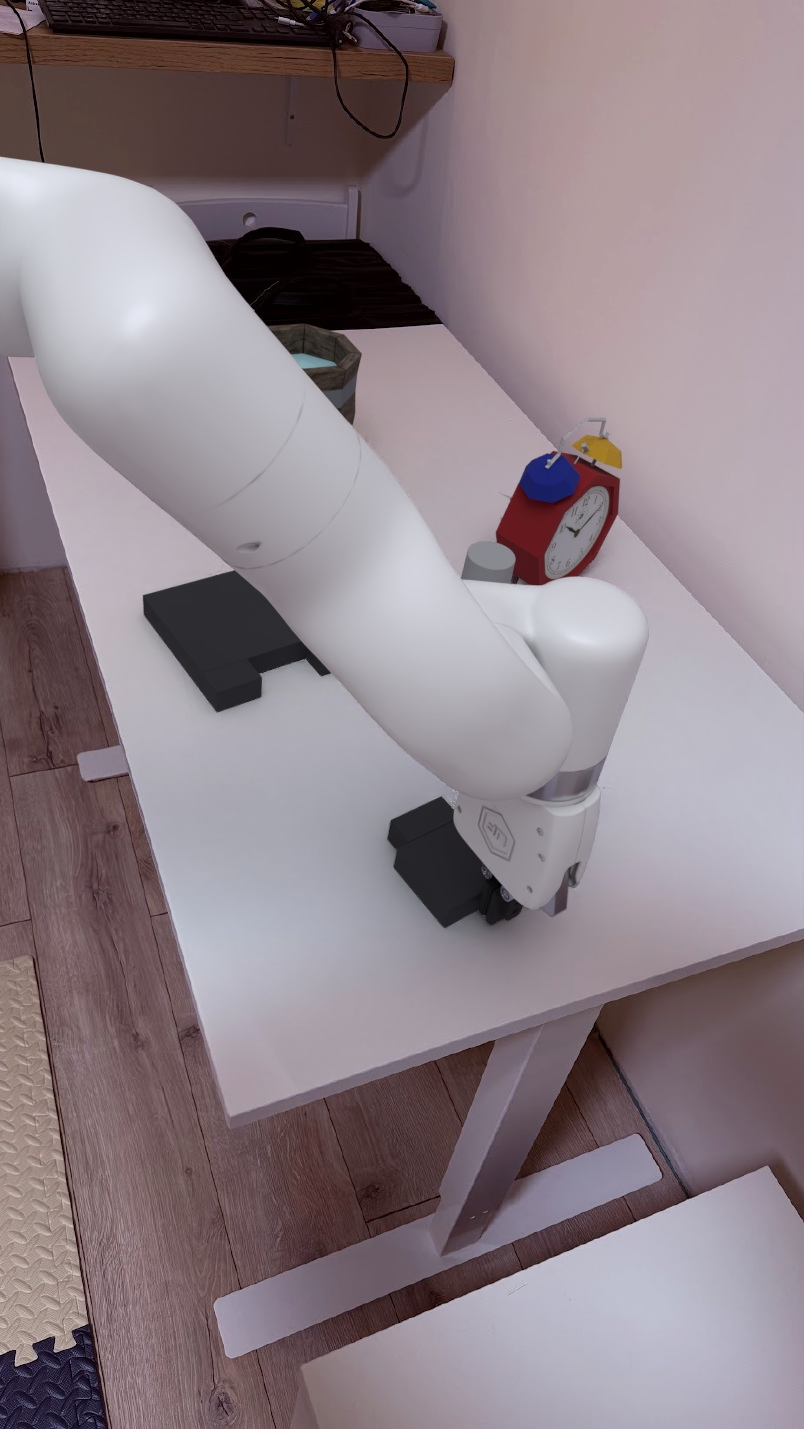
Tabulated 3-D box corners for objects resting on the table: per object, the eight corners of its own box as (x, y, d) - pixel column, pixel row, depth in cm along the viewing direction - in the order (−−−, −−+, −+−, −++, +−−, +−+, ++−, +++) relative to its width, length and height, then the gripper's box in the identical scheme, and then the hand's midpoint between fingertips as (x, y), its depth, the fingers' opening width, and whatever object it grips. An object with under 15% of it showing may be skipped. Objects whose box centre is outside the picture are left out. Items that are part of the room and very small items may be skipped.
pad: (444, 929, 80) (449, 910, 78) (374, 845, 85) (377, 825, 83) (519, 887, 84) (526, 868, 82) (448, 809, 89) (453, 790, 87)
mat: (216, 712, 94) (216, 692, 92) (143, 614, 102) (142, 594, 101) (361, 662, 101) (363, 643, 100) (281, 575, 110) (282, 556, 108)
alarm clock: (525, 615, 111) (569, 451, 97) (466, 577, 115) (500, 413, 101) (602, 568, 119) (652, 411, 106) (545, 534, 123) (586, 378, 110)
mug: (245, 431, 132) (248, 317, 121) (348, 440, 133) (360, 329, 123) (236, 514, 118) (238, 394, 107) (352, 523, 119) (365, 405, 109)
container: (432, 667, 102) (457, 544, 92) (472, 659, 104) (501, 537, 94) (453, 698, 99) (481, 573, 89) (494, 688, 101) (526, 565, 91)
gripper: (437, 699, 70) (406, 863, 82) (579, 850, 61) (520, 1006, 74) (521, 666, 73) (479, 828, 86) (666, 805, 65) (596, 962, 77)
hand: (498, 910), depth 80 cm, fingers closed
